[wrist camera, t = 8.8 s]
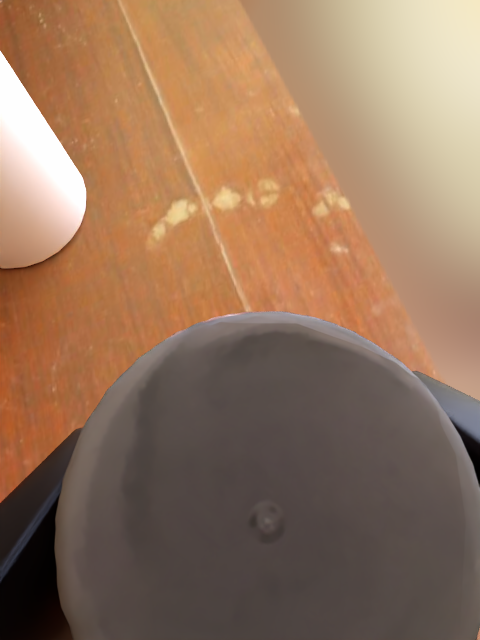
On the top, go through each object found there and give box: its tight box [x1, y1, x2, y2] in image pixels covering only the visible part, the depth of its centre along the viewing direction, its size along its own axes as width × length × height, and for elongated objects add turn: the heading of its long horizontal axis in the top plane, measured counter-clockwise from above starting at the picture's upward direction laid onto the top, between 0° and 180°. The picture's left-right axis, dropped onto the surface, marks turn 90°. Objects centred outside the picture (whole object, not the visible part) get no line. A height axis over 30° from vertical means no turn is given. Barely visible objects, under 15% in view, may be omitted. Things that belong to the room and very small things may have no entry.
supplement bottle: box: [54, 312, 480, 640], centre depth 9 cm, size 6×6×11 cm
